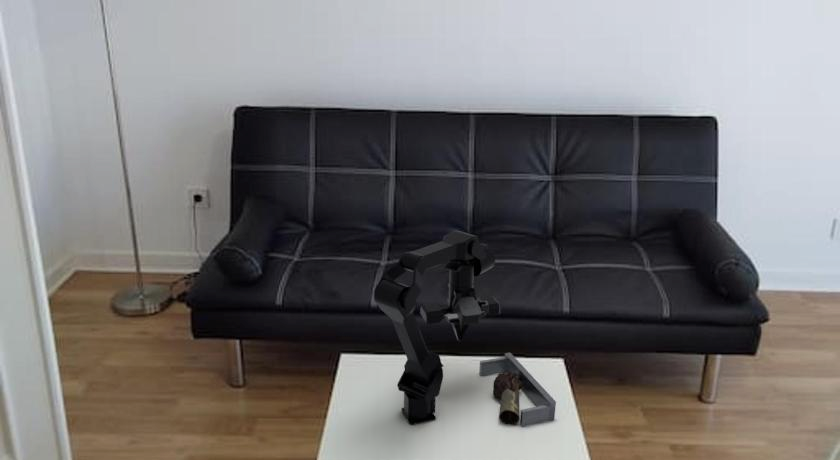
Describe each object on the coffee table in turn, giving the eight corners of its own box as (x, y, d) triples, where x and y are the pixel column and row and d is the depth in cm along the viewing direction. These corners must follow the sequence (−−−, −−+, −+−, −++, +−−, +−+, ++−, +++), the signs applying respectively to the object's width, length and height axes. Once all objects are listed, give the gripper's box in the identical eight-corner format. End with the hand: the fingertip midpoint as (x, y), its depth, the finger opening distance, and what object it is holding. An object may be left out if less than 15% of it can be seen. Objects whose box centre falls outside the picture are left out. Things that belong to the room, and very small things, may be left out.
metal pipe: (519, 427, 181) (520, 406, 179) (490, 424, 182) (491, 404, 180) (520, 385, 197) (521, 366, 195) (494, 383, 198) (494, 364, 196)
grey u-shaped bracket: (521, 426, 180) (523, 408, 178) (479, 374, 201) (480, 357, 199) (554, 420, 183) (555, 401, 181) (509, 369, 204) (510, 352, 202)
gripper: (434, 301, 176) (432, 362, 181) (510, 292, 181) (507, 351, 186) (420, 281, 186) (419, 339, 191) (493, 273, 191) (490, 329, 196)
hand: (459, 340), depth 191 cm, fingers closed
